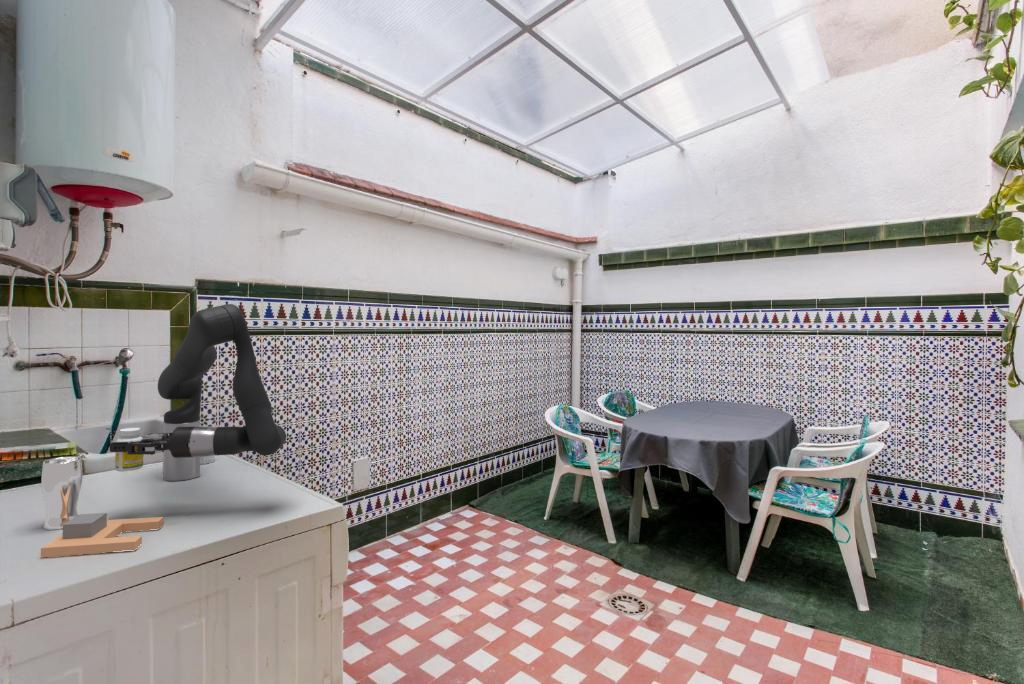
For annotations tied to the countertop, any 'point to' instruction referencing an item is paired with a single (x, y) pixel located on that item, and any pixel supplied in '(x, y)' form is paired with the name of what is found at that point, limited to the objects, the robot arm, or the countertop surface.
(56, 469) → the beer glass
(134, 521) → the orange forked bracket
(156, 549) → the countertop surface
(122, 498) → the countertop surface
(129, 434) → the supplement bottle
